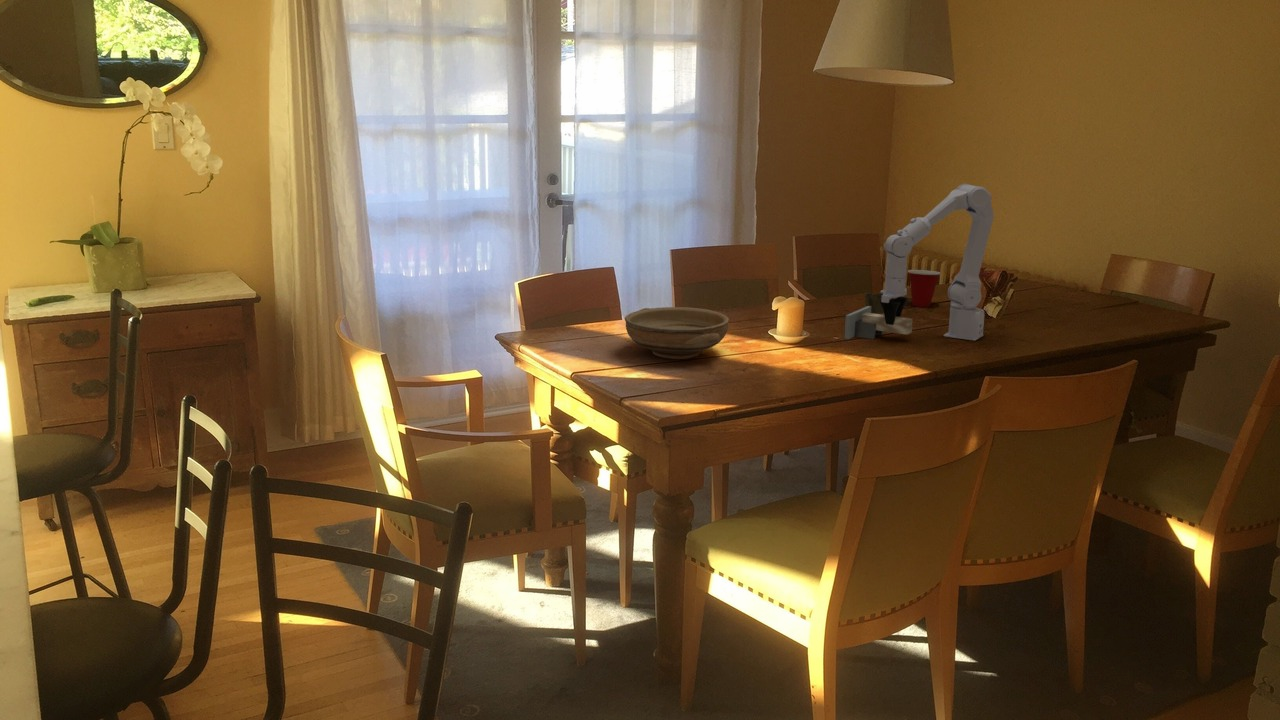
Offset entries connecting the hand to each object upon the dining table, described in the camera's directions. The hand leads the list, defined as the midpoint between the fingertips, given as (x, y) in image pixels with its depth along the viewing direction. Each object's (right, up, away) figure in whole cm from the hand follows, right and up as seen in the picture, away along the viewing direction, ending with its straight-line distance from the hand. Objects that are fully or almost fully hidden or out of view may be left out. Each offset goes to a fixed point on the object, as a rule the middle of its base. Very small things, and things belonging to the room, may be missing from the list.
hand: (892, 323), depth 295 cm
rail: (-1, -2, +1) cm, 3 cm away
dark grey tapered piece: (+1, +2, +27) cm, 28 cm away
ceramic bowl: (-63, -9, -15) cm, 66 cm away
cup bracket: (-5, -4, +5) cm, 8 cm away
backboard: (-9, -3, +7) cm, 12 cm away
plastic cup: (+22, +7, +47) cm, 52 cm away
